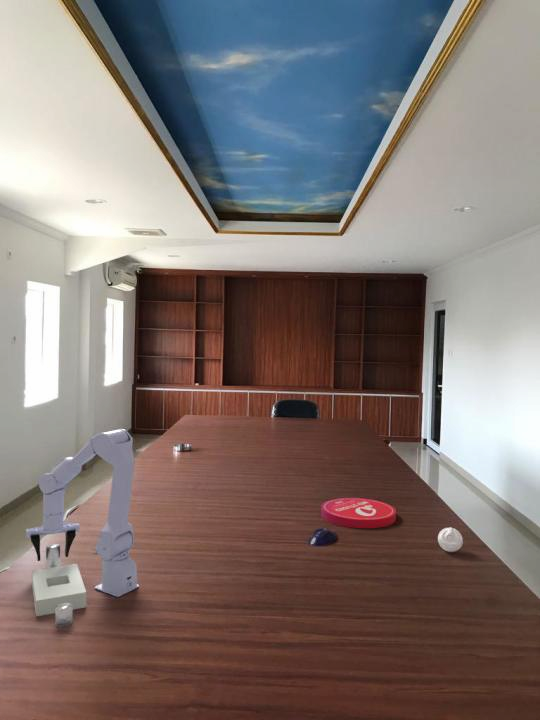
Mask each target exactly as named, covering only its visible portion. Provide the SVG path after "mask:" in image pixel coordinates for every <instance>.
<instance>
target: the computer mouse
mask: <svg viewBox="0 0 540 720" xmlns="http://www.w3.org/2000/svg"><path fill="white" fill-rule="evenodd" d="M338 536H339V535H338V534H337V533H336V531H331V530H329V528H321V527H318V528H317V529H315V531H314V533H313V534H312V536H311V537H309V538H308V539H307V540H308V541H307V544H309V545H311V546H314V547H320V546H325V545H329V544H331V543H333V542H335V541H336V540H337V538H338Z"/></svg>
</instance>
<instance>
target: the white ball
mask: <svg viewBox="0 0 540 720" xmlns="http://www.w3.org/2000/svg"><path fill="white" fill-rule="evenodd" d="M463 539H464V538H463V536H462V534H461V533H460V531H459V530H457V528H453V527H444V528H443V529H442V530H441V529H440V531H439V533H438V536H437V543H438V544H439V546H440V548H442V550H444V551H446V552H448V553H454V552H457V551H459V550H460V549H461V548H462V546H463V543H464V542H463Z"/></svg>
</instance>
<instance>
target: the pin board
mask: <svg viewBox="0 0 540 720" xmlns="http://www.w3.org/2000/svg"><path fill="white" fill-rule="evenodd" d="M31 588H32V597H33V604H34V612H35V613H34V614H35V617H41V616H48V615H51V614H55V607H56V606H57V605H59V604H63V603H70V604H72V605H73V611H74V610H77V609H84V608H87V590H86V587H85V583H84V581H83V577H82V575H81V572H80V569H79V566H78V564H77V563H72V564H66V565H60V566H58V567H52V568H46V567H45V568H40V569H33V570H31Z"/></svg>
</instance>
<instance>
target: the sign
mask: <svg viewBox="0 0 540 720" xmlns="http://www.w3.org/2000/svg"><path fill="white" fill-rule="evenodd" d="M320 511H321V512H320V513H321V518H323V519H324V520H325V521H327V522H329V523H332V524H334V525H338V526H342V527H347V528H356V529H375V528H376V529H377V528H378V529H379V528H384V527H388V526H391V525H393V524H394V523H395V522H396V520H397V518H396V517H397V511H396V508H395V507H393V506H392V505H390V504H388V503H386V502H383V501H379V500H375V499H369V498H361V497H342V498H335V499H330V500H327V501H325V502H323V503H322V504H321V509H320Z"/></svg>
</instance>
